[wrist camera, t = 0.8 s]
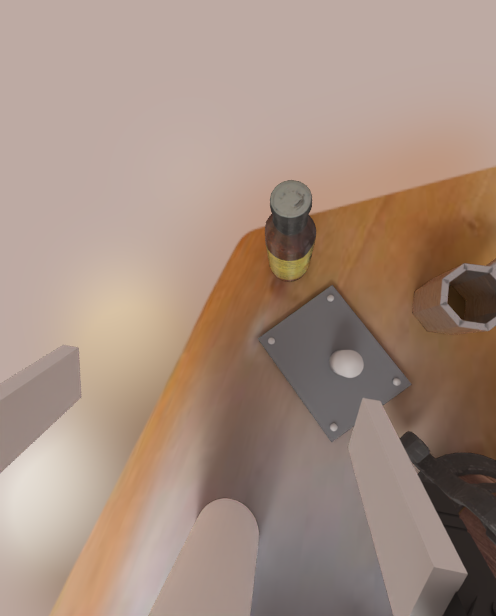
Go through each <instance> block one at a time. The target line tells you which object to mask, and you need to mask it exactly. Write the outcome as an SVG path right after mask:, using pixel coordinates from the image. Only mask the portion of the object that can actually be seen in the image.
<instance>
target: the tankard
mask: <svg viewBox="0 0 496 616" xmlns="http://www.w3.org/2000/svg"><path fill="white" fill-rule="evenodd" d="M400 441H401V443H402V445H403V447H404V449H405V451H406V453H407V455H408V457H409V459H410V461H411V462H412V463H413V464H414V465H415V466H416V467H417V468H418V469H419V470H420V472H419V473H418V476H419V478H420V480H421V481H422V482H428V483H433V484H436V485H437V486H438V487H439V488H440V489H441V490H442V491H443V492H444V493H445V494H446V495H447V496H448V497H449V498H450V500H451V502H452V503H453V505H454V507H455V509H456V510H457V512H458V514H459V518H460V519H462V521H463V522H464V524H465V526H466V528H467V532H468V533H470V535H471V536H472V538H473V540H474V542H475V543H476V545H477V547H478V549H479V550H480V552H481V554H482V555H483V557H484V559H485V561H486V562H487V564H488V566H489V568H490V569H491V571H492V573H493V575H494V576H495V578H496V461H495V460H493V459H491V458H488V457H486V456H483V455H478V454H473V453H453V454H447V455H444V456H442V457H439V458H437V459H435V458H434V457H433V456H432V455H431V454H430V450H429V448H428V447H427V446H426V445H425V444H424V442H423V441H422V440H421V439H420V438H418V437H417V436H416V435H415V434H414V433H412V432H411V431H408V432H407V433H405V434H404V435H403V436H402V437H401V438H400Z"/></svg>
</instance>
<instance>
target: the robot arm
mask: <svg viewBox="0 0 496 616" xmlns="http://www.w3.org/2000/svg"><path fill="white" fill-rule="evenodd" d="M80 398H81V381H80V363H79V348H78V347H73V346H67V345H62V346H60V347H59V348H57V349H56V350H54V351H52V352H51V353H49V354H47V355H46V356H44V357H43V358H41V359H39V360H38V361H36V362H35V363H33V364H31V365H30V366H28V367H26V368H25V369H23V370H22V371H20V372H18V373H17V374H15V375H14V376H12V377H10V378H9V379H7V380H5V381H4V382H2V383H1V384H0V473H1V472H2V471H3V470H4V469H5V468H6V467H7V466H8V465H10V464H11V463H12V462H13V461H14V460H15V459H16V458H17V457H18V456H19V455H20V454H21V453H22V452H23V451H24V450H25V449H27V448H28V447H29V446H30V445H31V444H32V443H33V442H34V441H35V440H36V439H37V438H38V437H40V435H42V434H43V433H44V432H45V431H46V430H47V429H48V428H49V427H50V426H51V425H52V424H53V423H54V422H56V421H57V420H58V419H59V418H60V417H61V416H62V415H63V414H64V413H65V412H66V411H67V410H68V409H69V408H70V407H72V406H73V405H74V404H75V403H76V402H77V401H78V400H79V399H80ZM348 450H349V454H350V458H351V461H352V465H353V469H354V472H355V476H356V480H357V483H358V487H359V491H360V495H361V498H362V502H363V506H364V509H365V513H366V517H367V520H368V524H369V528H370V531H371V535H372V539H373V543H374V546H375V550H376V554H377V557H378V561H379V565H380V568H381V572H382V576H383V579H384V583H385V587H386V591H387V594H388V598H389V602H390V605H391V609H392V613H393V616H496V578H495V576H494V575H493V573H492V571H491V569H490V568H489V566H488V564H487V562H486V561H485V559H484V557H483V555H482V554H481V552H480V550H479V549H478V547H477V545H476V543H475V542H474V540H473V538H472V536H471V535H470V533H468V532H467V528H466V526H465V524H464V522H463V521H462V519H460V518H459V514H458V512H457V510H456V509H455V507H454V505H453V503H452V502H451V500H450V498H449V497H448V496H447V495H446V494H445V493H444V492H443V491H442V490H441V489H440V488H439V487H438V486H437V485H436V484H433V483H428V482H422V481H421V480H420V478H419V476H418V474H417V472H416V470H415V468H414V467H413V465H412V463H411V461H410V459H409V457H408V455H407V453H406V451H405V449H404V447H403V445H402V443H401V441H400V439H399V437H398V435H397V433H396V431H395V429H394V427H393V425H392V423H391V421H390V419H389V417H388V415H387V413H386V411H385V409H384V407H383V405H382V403H381V401H378V400H372V399H366V398H363V399H362V402H361V405H360V408H359V412H358V415H357V418H356V422H355V425H354V428H353V432H352V435H351V438H350V441H349V445H348Z"/></svg>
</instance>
